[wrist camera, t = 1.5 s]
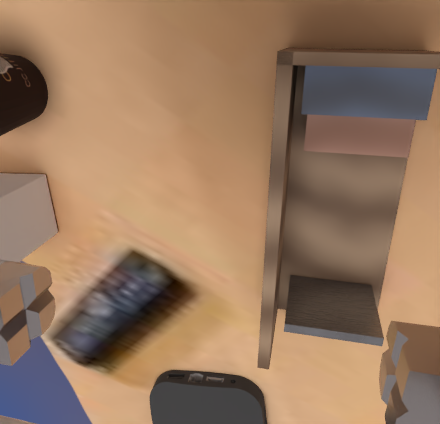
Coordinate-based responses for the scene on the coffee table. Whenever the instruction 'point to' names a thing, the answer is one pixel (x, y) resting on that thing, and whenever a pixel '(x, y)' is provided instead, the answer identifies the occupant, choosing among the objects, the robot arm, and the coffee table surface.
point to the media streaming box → (206, 399)
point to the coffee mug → (20, 92)
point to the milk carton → (24, 215)
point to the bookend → (333, 310)
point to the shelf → (338, 166)
